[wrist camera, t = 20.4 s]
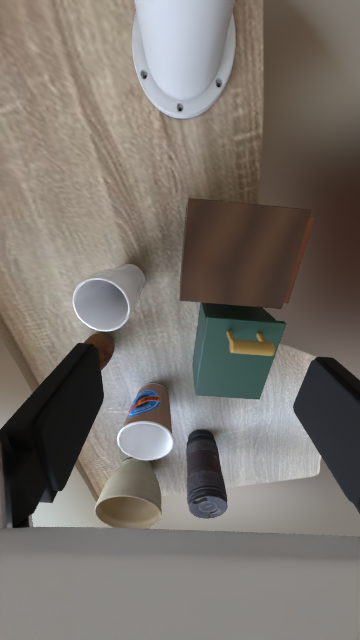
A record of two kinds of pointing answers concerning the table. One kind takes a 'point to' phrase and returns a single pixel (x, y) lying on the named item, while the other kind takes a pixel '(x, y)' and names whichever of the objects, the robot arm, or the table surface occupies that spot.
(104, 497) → the planter bowl
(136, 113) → the table surface
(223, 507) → the camera lens
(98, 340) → the wooden figurine
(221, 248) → the cabinet
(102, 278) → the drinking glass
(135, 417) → the coffee cup
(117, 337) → the table surface
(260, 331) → the lid
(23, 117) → the table surface
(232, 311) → the chest
